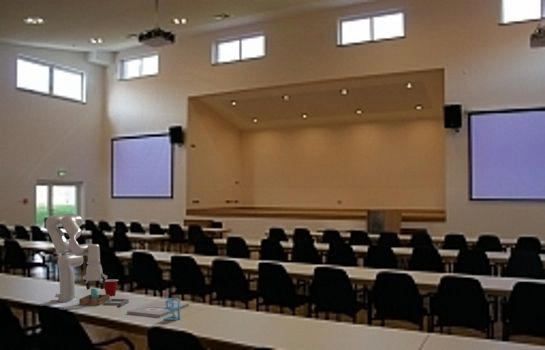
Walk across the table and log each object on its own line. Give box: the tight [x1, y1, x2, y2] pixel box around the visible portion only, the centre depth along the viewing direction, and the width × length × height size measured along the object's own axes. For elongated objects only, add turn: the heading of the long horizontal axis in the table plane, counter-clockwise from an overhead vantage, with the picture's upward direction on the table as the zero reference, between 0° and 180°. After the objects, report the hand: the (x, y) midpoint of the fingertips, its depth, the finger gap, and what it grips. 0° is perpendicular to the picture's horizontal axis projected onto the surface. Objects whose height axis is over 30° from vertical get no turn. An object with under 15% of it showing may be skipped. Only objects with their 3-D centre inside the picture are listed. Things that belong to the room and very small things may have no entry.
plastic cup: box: [104, 278, 119, 297], centre depth 370 cm, size 11×11×12 cm
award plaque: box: [126, 300, 190, 319], centre depth 328 cm, size 25×30×2 cm
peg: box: [90, 287, 99, 299], centre depth 347 cm, size 4×4×9 cm
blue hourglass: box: [163, 297, 181, 321], centre depth 304 cm, size 8×8×12 cm
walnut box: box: [79, 293, 111, 306], centre depth 347 cm, size 14×14×5 cm
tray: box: [102, 298, 130, 308], centre depth 345 cm, size 12×12×2 cm
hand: (95, 289), depth 347 cm, fingers open, 9 cm apart
